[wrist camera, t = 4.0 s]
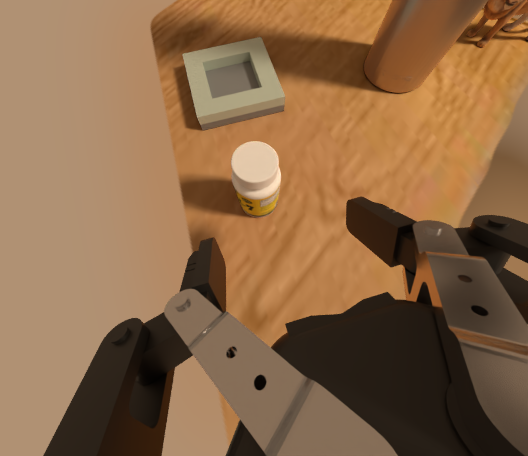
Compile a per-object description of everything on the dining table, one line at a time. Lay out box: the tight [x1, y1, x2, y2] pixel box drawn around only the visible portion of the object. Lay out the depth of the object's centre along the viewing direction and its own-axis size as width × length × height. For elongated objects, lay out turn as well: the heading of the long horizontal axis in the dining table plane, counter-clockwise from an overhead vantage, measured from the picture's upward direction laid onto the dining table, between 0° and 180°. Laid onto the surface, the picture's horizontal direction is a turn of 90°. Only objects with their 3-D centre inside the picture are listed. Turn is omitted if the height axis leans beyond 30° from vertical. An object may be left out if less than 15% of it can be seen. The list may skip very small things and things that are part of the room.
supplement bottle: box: [231, 141, 281, 218], centre depth 20 cm, size 5×5×8 cm
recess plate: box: [182, 37, 285, 130], centre depth 27 cm, size 12×12×2 cm
